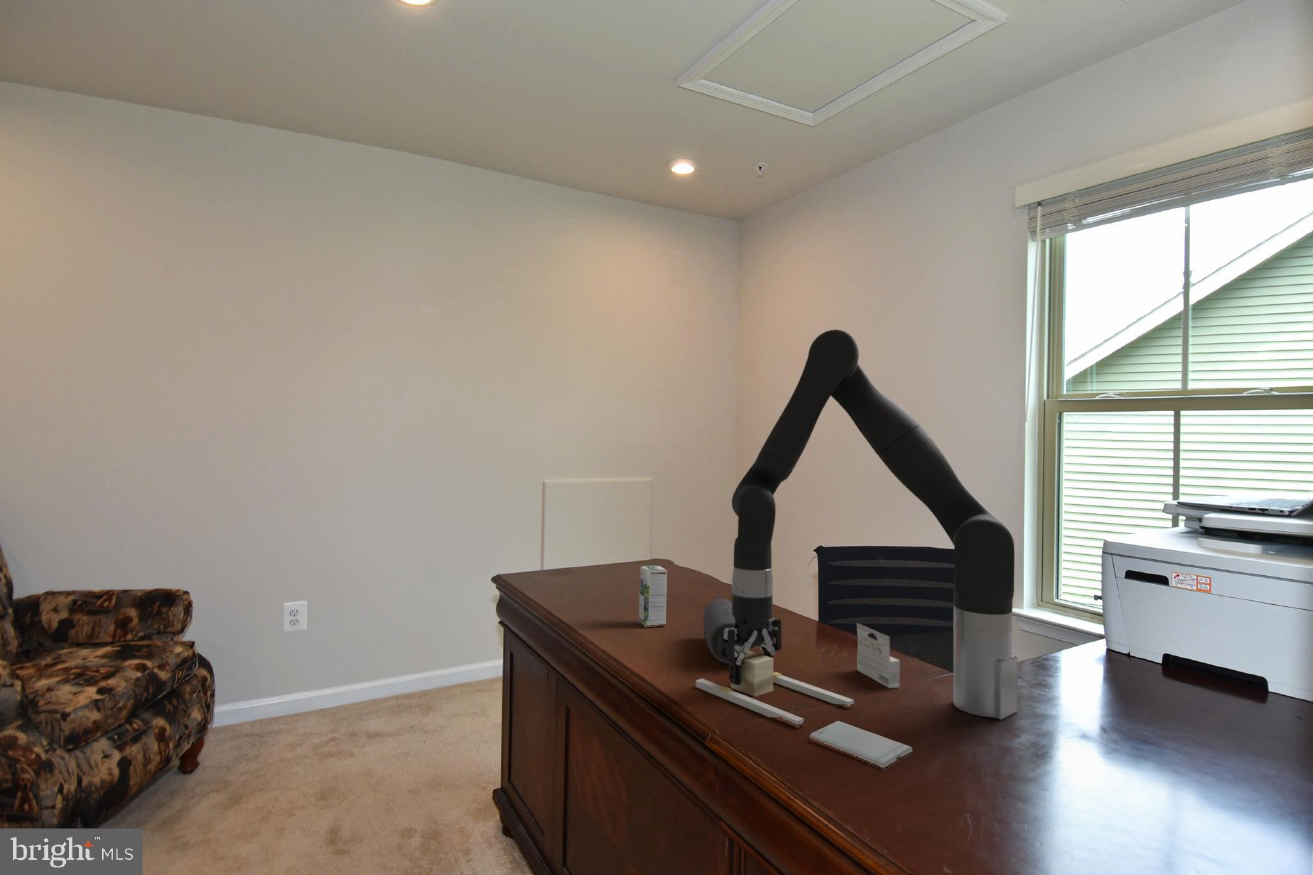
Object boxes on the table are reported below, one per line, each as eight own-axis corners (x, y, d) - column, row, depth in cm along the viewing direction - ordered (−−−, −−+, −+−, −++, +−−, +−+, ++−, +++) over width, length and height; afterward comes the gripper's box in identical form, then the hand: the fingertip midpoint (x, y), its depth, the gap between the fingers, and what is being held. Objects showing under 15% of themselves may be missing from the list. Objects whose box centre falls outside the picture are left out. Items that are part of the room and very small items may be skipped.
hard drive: (809, 733, 104) (884, 761, 94) (839, 719, 109) (912, 744, 100) (809, 744, 104) (883, 773, 94) (838, 730, 109) (912, 756, 100)
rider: (773, 690, 125) (773, 657, 125) (754, 697, 122) (754, 662, 122) (749, 682, 130) (749, 650, 130) (730, 687, 127) (730, 654, 127)
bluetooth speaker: (752, 670, 137) (753, 620, 137) (706, 669, 137) (707, 619, 137) (741, 638, 159) (741, 596, 160) (701, 638, 160) (701, 595, 160)
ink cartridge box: (866, 669, 138) (866, 621, 138) (900, 688, 127) (900, 636, 128) (855, 670, 137) (856, 622, 138) (889, 689, 127) (889, 636, 127)
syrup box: (638, 622, 173) (638, 565, 173) (660, 621, 175) (660, 565, 175) (644, 628, 168) (645, 569, 168) (667, 626, 169) (667, 568, 170)
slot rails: (853, 706, 117) (853, 698, 117) (797, 728, 108) (797, 719, 108) (751, 670, 136) (751, 663, 136) (695, 686, 127) (695, 679, 127)
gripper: (740, 600, 119) (739, 693, 118) (792, 590, 128) (792, 677, 127) (710, 592, 125) (709, 681, 124) (763, 583, 134) (762, 666, 133)
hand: (751, 679), depth 126 cm, fingers open, 8 cm apart
